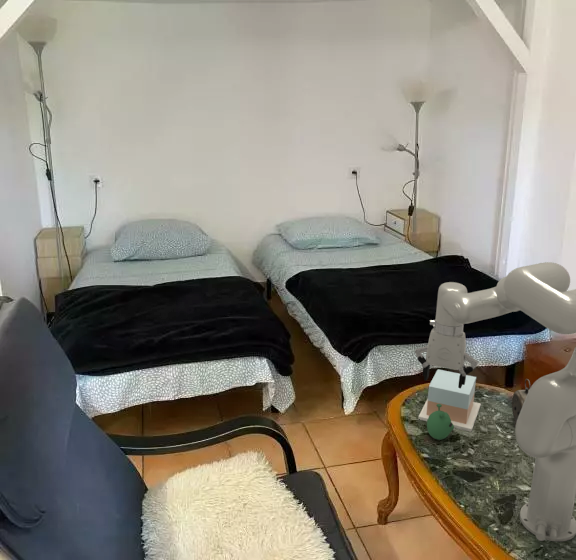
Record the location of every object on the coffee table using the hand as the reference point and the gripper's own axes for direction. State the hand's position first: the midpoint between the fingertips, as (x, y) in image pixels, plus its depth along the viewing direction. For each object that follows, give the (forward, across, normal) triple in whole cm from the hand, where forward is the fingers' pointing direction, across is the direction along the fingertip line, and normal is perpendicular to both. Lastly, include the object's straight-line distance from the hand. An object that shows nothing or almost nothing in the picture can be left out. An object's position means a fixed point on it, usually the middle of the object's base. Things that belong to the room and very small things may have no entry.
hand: (443, 382), depth 170 cm
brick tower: (+18, +1, +14) cm, 23 cm away
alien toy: (+18, +1, 0) cm, 18 cm away
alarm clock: (+18, +22, +16) cm, 32 cm away
